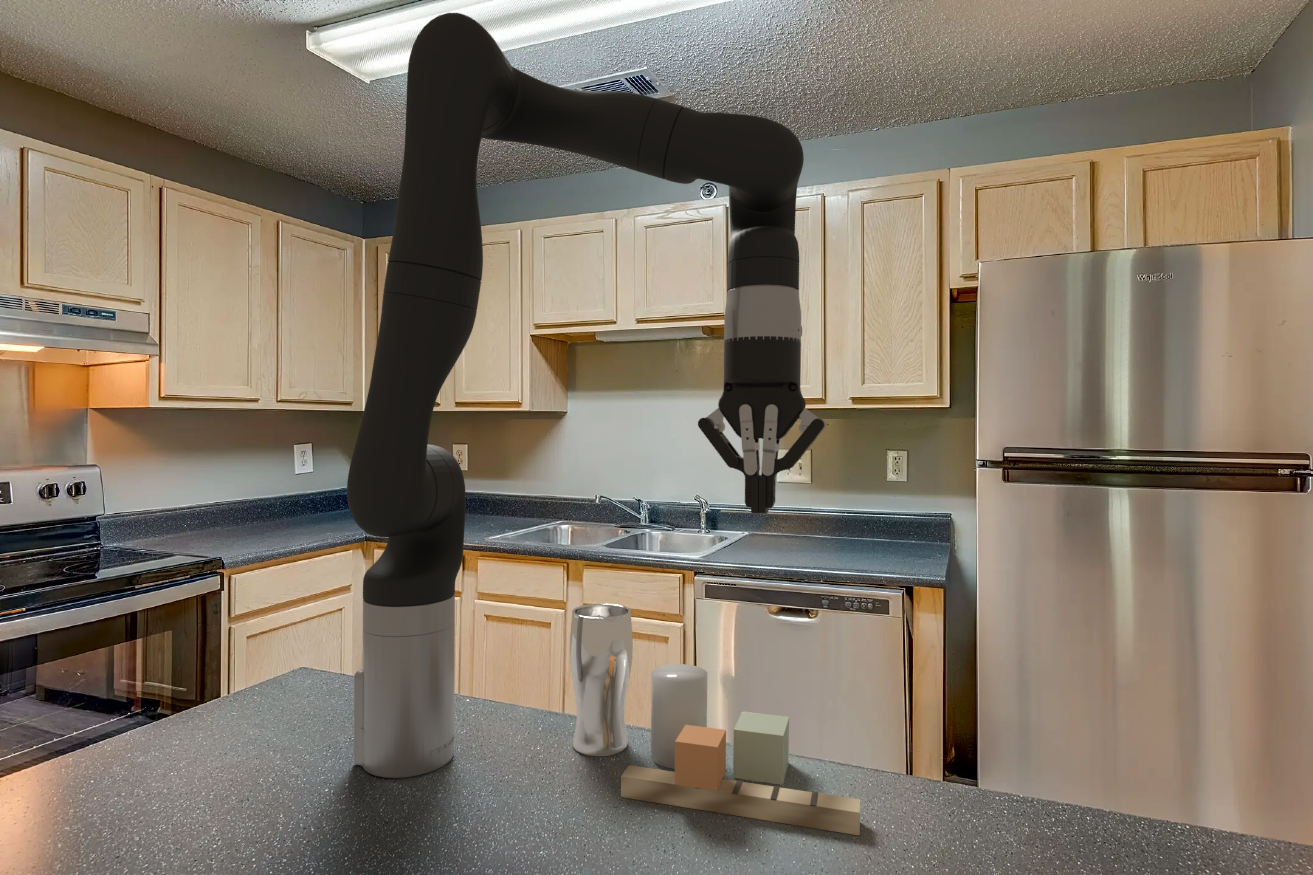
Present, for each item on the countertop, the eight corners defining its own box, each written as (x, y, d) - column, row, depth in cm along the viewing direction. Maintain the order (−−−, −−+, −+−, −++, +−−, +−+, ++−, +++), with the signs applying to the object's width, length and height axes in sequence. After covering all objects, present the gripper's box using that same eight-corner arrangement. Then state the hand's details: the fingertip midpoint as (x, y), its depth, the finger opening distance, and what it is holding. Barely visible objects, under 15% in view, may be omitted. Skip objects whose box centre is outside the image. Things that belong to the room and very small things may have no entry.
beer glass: (623, 761, 78) (624, 620, 78) (560, 755, 79) (561, 616, 79) (637, 734, 85) (639, 604, 84) (579, 729, 86) (580, 601, 86)
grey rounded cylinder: (643, 764, 77) (644, 679, 77) (659, 741, 83) (660, 661, 83) (699, 772, 76) (700, 685, 76) (711, 748, 81) (712, 667, 81)
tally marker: (674, 784, 68) (675, 741, 68) (685, 765, 72) (685, 724, 72) (717, 790, 67) (717, 746, 67) (725, 771, 71) (726, 729, 71)
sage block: (733, 778, 75) (733, 729, 75) (741, 757, 79) (742, 711, 79) (782, 785, 73) (783, 735, 73) (788, 763, 78) (789, 716, 78)
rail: (620, 796, 70) (621, 775, 70) (629, 784, 73) (629, 763, 73) (859, 835, 64) (859, 811, 64) (860, 820, 67) (860, 798, 67)
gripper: (688, 334, 71) (686, 514, 71) (828, 331, 67) (825, 520, 68) (705, 343, 78) (703, 506, 79) (833, 340, 75) (830, 511, 75)
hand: (760, 512), depth 73 cm, fingers closed
